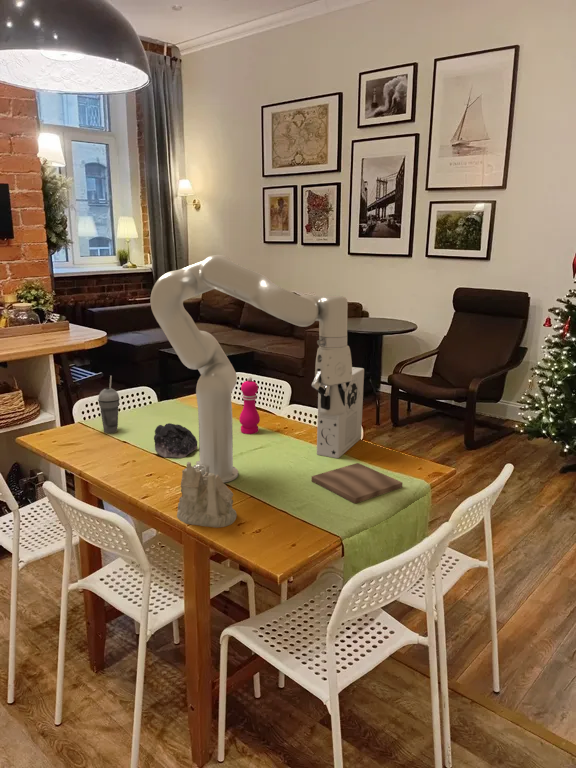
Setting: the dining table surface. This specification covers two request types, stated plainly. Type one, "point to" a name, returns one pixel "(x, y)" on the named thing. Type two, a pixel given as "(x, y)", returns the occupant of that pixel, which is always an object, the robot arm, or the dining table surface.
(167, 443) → the crystal cluster
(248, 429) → the pepper mill
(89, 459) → the dining table surface
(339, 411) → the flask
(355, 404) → the cereal box
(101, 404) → the beverage cup
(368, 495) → the walnut board
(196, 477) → the miniature castle
